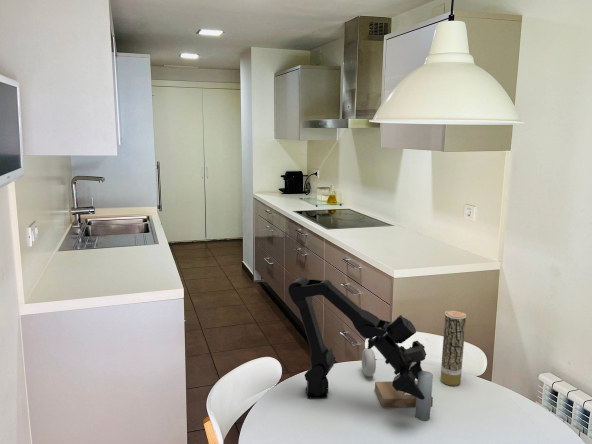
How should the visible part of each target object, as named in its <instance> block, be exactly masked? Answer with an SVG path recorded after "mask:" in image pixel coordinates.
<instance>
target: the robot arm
mask: <svg viewBox="0 0 592 444" xmlns="http://www.w3.org/2000/svg"><path fill="white" fill-rule="evenodd" d="M287 291H288V292H287V293H288V294H289V297H290V299H291V301H292V303H293V304H294V305H295V306H296V308H297V309H298V310H299V311H298V312H299V314H300V317H301V321H302V325H303V328H304V330H305V331H304V332H305V335H306V338H307V342H308V344H309V348H310V367H309V368H308V369H307V371H306V372H305V373H304V379H305V381H306V387H305V391H306V396H307V399H328V394H329V380H328V378H327V377H328V375H329V373H330V371H331V369H333V367H334V365H335V360H336V357H335V355H334V352H333V348H332V347H330V348H328V347H327V346H326V345H325V343H324V338H323V336H322V333H321V329H320V326H319V322H318V319H317V315H316V312H315V309H314V306H313V297H315V296H323V297H324V298H325V299H326V300H327V301H328V302H330V303H331V304H332V306H334V307H335V308H337V310H339V311H340V312H341V313H342V314H343V315H344V316H346V317H347V319H349V320H350V321H351V323H352V326H353V327H354V329H355V330H356V331H357V333H359V334H360V336H361V337H362V338H364V339H367V343H368V344H367V348H368V349H372V348H373V347H375V349H376V350H377V351H378V352H379V353H380V354H381V355H382V357H383V358H384V359H385V360H384V364H386V365H390V366H391V367H392V369H393V370H394V372H393V374H394V375H395V376H394V377H393V380H392V381H393V382H392V386H393V388H394V389H395V390H396V391H398V390H399V391H403V392H406V393H405V394H407V395H413V396H415V397H417V398H419V399H421V400H423V399H425V397H424V395H423V393H422V392H421V390H420V389H419V387H418V386H417V385H416V383H415V381H418V372H420V371H424V370H423V368H422V366H421V365H422V362H423V361H424V360H426V356H427V352H426V350H425V345H424V344H423V343H421V342H419V340H415V341H412V346H409V348H405V346H404V345H400V346H399V344H403V343H404V342H406V341H407V340H408V339H410V338H411V337H412V336H414V335H415V334H416V333H417V329H416V327H415V325H414V324H413V322H411V321H410V320H409V319H407V318H406V317H404V316H403V315H401V314H400V315H399V316H397V317H396V318H395V319H394V320H393V321H392V322H391V321H387V320H384V319H380V318H379V317H378V316H377V315H375V314H373V313H371V312H370V311H368V310H365V309H363V308H361V307H359V306H358V305H357V304H356V303H354V301H352V300H351V299H350V298H349V297H348V296H347V295H345V294H344V293H343V292H342V291H341V290H339V288H338V287H336V286H335V285H334V284H333V283H332V281H330V280H329V279H315V278H313V279H312V278H311V279H308V278H306V277H299V278H297V279H296V280H294V281H293V282H291V283H290V284H289V285H288V288H287Z"/></svg>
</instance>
